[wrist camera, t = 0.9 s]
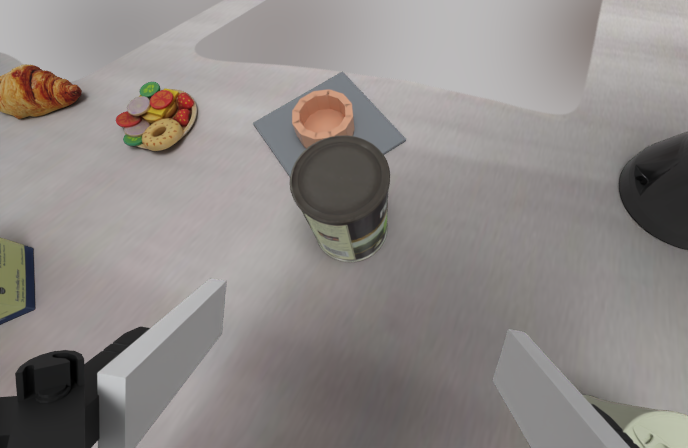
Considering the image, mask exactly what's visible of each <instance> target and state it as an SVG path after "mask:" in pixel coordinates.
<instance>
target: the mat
mask: <svg viewBox="0 0 688 448" xmlns="http://www.w3.org/2000/svg"><path fill="white" fill-rule="evenodd" d="M327 89H330V90H333V91H336V92H339V93H342V94H344V95H345V96H346V97H347V99H348V100H349V101H350V102H351V103H352V108H353V117H354V129H355V130H354V134H353V136H355V137H359V138H362V139H364V140H366V141H368V142H370V143H372V144H373V145H375V146H376V147H377V148H378V149H379V150H380V151H381V152H382V154H383V155H384V154H386V153H387V152H389V151H391V150H392V149H394V148H395V147H397V146H399V145H400V144H402V143H403V142H405V141H406V138H405V137H404V136H403V135H402V134H401V133H400V132H399V131H398V130H397V129H396V128H395V127H394V126H393V125H392V124H391V123H390V121H389V120H388V119H387V118H386V117H385V116H384V115H383V114H382V113H381V112H380V111H379V110H378V109H377V108H376V107H375V106H374V105H373V103H372V102H371V101H370V100H369V99H368V98H367V97H366V96H365V95H364V94H363V93H362V92H361V91H360V90H359V89H358V88H357V86H356V85H355V84H354V83H353V82H352V81H351V80H350V79H349V78H348V77H347V76H346V75H345V74H344V73H343V72H341V73H339V74H337V75H336V76H334V77H332V78H330V79H329V80H327V81H325V82H323V83H322V84H320V85H318V86H316V87H315V88H313V89H311V90H309V91H308V92H306V93H304V94H303V95H301V96H299V97H297V98H296V99H294V100H292V101H290V102H289V103H287V104H285V105H283V106H282V107H280V108H278V109H276V110H275V111H273V112H271V113H269V114H268V115H266V116H264V117H263V118H261V119H259V120H257V121H256V122H254V123H253V124H254V126H255V127H256V129H257V130H258V132H259V133H260V134H261V136H262V137H263V139H264V140H265V142H266V143H267V145H268V146H269V147H270V149H271V150H272V152H273V153H274V155H275V156H276V158H277V159H278V160H279V162H280V163H281V165H282V166H283V168H284V169H285V170H286V172H287V173H288V175H289V176H290V175H291V171H292V168H293V166H294V164H295V162H296V160H297V159H298V157H299V156H300V155H301V154H302V152H303V151H305V150H306V148H305V147H304V146H303V145H302V143H301V142H300V139H299V138H298V137H297V135H296V132H295V129H294V127H293V124H292V110H293V109H294V107H295V106H296V104H297V103H298V101H299V100H300V99H301V98H303V97H304V96H306V95H308V94H310V93H311V92H313V91H319V90H327Z"/></svg>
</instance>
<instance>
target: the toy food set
mask: <svg viewBox="0 0 688 448" xmlns="http://www.w3.org/2000/svg"><path fill="white" fill-rule="evenodd" d="M140 94H141V95H140V96H139V97H137V98H134V99H133V100H131V101H130V103H129V104H128V106H127V112H123V113H121V114H120V115H118V116H117V118H116V123H117V124H118V125H119V126H121V127H124V131H125V136H124V138H123V140H124V142H125V144H127V145H129V146H137V147H140V148H144V149H149V150H152V151H159V150H164V149H167V148H169V147H171V146H172V145H174V144H175V143H176V142H177V141H179V140H180V139H182V138H183V137H184V136H185V135H186V134H187V133H188V132H189V130H190V129H191V127H192V125H193V124H194V121H195V119H196V114H197V107H196V103H195V101H194V100H193V98H192V97H191V96H190V95H189V94H187V93H186V92H184V91H180V90H175V89H164V90H161V91H160V86H159V84H158V83H156V82H148V83H146V84H145V85H143V86H142V87H141V89H140Z"/></svg>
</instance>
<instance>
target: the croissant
mask: <svg viewBox="0 0 688 448" xmlns="http://www.w3.org/2000/svg"><path fill="white" fill-rule="evenodd" d="M80 96H81V89H80V88H79V87H78V86H77V85H72V83H70V82H69V81H68V80H66V79H62V78H60V77H57V76H55V75H54V74H53V73H51V72H49V71H43V70H41V69H40V68H39V67H36V66H33V65H21V66H19V67H16V68H14V69H12V71H10V72H9V73H7V74H4V75H2V76H0V111H1V112H3V113H6V114H9V115H13V116H14V117H16V118H18V119H22V118H24V117H28V116H32V117H37V116H42V115H45V114H48V113H50V112H52V111H55V110H57V109H60V108H64V107H66V106H69V105H71V104H73V103H74V102H76V100H77V99H78V98H79V97H80Z"/></svg>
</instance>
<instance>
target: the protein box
mask: <svg viewBox="0 0 688 448" xmlns="http://www.w3.org/2000/svg"><path fill="white" fill-rule="evenodd" d="M34 309H35V293H34V262H33V248H31V247H28V246H25V245H22V244H19V243H16V242H13V241H9V240H6V239H3V238H0V324H2V323H5V322H7V321H9V320H12V319H14V318H16V317H19V316H21V315H23V314H26V313H28V312H30V311H32V310H34Z"/></svg>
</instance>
